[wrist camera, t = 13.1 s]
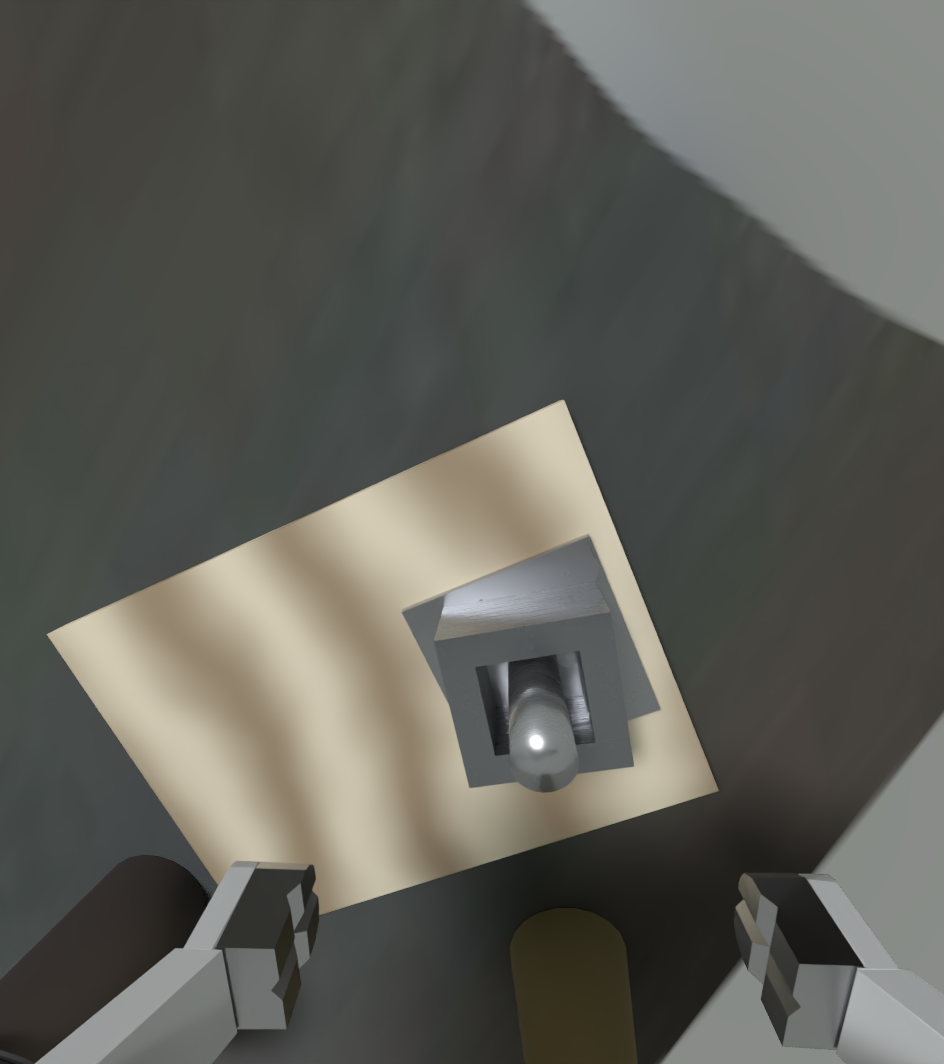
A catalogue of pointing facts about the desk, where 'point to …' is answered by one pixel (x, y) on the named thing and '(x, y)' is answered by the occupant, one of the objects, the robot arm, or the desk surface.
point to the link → (526, 633)
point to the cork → (572, 989)
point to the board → (367, 678)
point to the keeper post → (540, 663)
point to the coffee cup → (96, 954)
